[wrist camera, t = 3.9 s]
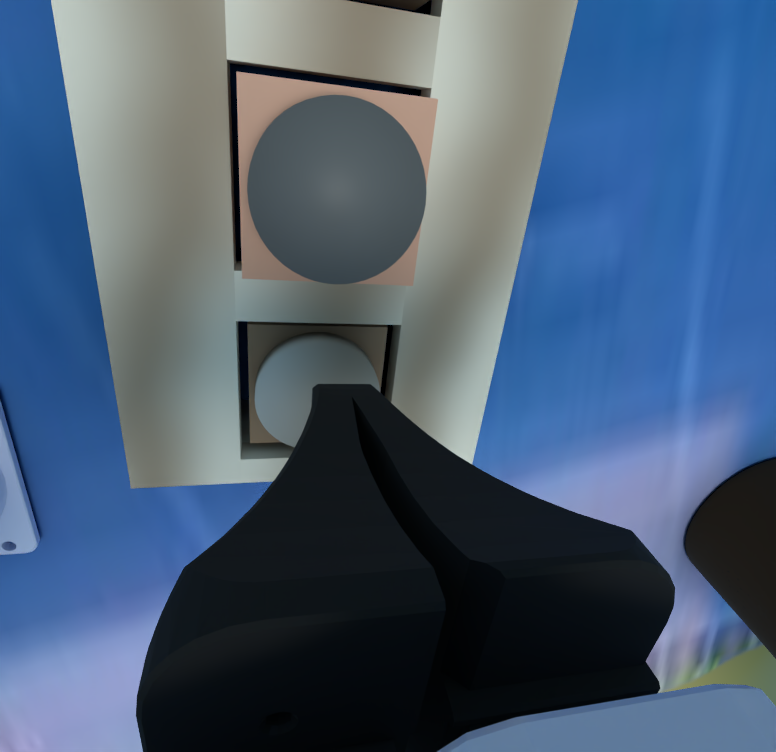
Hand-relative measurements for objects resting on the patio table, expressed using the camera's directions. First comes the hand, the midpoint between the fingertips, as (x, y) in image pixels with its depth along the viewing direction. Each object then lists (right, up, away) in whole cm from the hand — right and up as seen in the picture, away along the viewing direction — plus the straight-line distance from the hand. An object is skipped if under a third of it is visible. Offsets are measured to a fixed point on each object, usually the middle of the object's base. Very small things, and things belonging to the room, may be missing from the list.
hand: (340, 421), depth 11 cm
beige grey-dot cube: (-1, +7, +3) cm, 8 cm away
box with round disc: (-2, +2, +8) cm, 8 cm away
